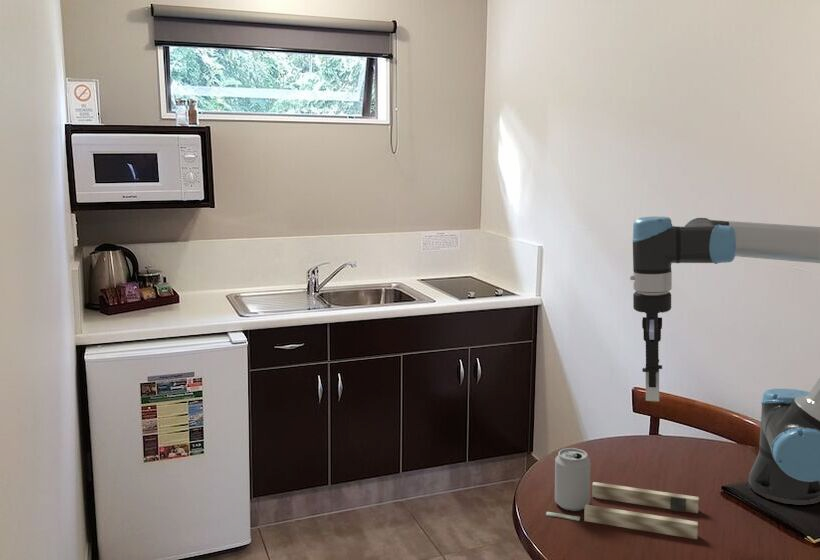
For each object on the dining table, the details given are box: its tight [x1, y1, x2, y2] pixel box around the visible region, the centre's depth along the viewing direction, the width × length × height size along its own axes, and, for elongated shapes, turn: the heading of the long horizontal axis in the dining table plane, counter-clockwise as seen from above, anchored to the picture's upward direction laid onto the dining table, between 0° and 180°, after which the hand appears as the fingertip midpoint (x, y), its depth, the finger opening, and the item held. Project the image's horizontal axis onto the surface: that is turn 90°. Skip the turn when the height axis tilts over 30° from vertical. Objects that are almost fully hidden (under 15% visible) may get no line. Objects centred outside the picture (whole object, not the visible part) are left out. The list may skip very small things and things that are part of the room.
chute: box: [545, 481, 700, 540], centre depth 155 cm, size 30×13×3 cm, turn 68°
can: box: [554, 447, 591, 512], centre depth 158 cm, size 8×8×12 cm
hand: (652, 399), depth 155 cm, fingers closed
